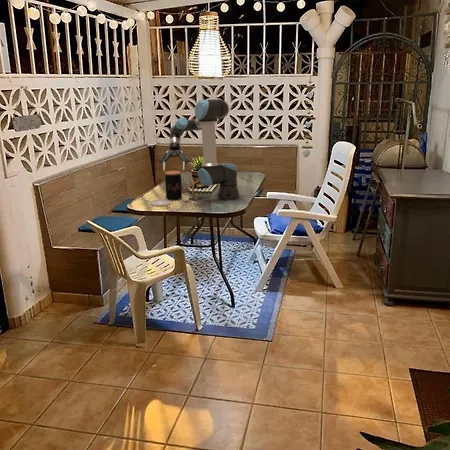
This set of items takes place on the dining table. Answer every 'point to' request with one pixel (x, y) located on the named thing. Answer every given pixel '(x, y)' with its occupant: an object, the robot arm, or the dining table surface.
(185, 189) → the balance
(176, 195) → the coffee jar
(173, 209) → the dining table surface
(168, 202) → the dish
